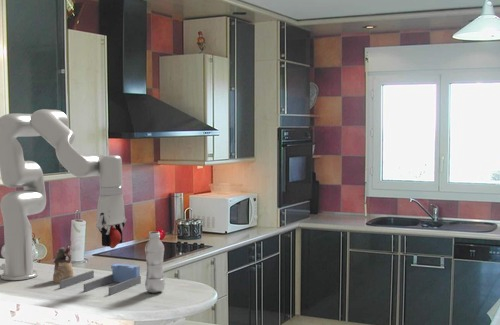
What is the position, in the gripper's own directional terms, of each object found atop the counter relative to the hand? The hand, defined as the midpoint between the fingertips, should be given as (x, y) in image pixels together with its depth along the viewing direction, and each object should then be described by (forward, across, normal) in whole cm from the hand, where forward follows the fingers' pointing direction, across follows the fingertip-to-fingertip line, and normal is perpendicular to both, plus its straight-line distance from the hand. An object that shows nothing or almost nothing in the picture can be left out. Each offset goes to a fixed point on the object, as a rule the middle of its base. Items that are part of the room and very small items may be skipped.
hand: (112, 243), depth 208 cm
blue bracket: (+15, -8, 0) cm, 17 cm away
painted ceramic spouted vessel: (+15, 0, -22) cm, 27 cm away
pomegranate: (+2, 0, 0) cm, 2 cm away
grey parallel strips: (+15, 0, -5) cm, 16 cm away
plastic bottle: (+15, 0, +17) cm, 23 cm away
